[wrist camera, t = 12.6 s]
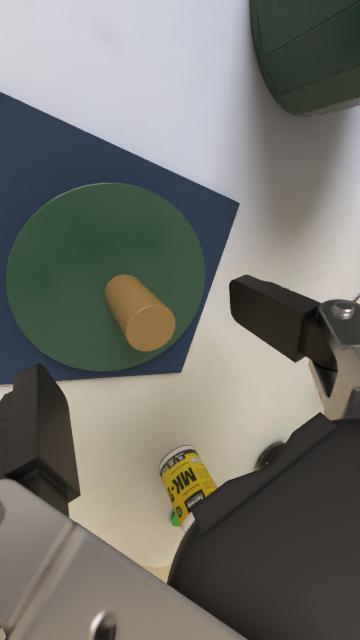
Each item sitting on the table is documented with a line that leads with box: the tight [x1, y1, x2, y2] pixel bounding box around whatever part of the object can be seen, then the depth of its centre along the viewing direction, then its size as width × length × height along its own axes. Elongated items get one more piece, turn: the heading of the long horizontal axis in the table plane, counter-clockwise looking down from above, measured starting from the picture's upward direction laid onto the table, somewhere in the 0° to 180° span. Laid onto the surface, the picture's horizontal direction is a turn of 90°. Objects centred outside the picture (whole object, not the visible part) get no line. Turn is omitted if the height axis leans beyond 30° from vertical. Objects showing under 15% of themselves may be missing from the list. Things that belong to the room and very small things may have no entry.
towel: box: [0, 92, 240, 384], centre depth 15 cm, size 14×14×1 cm
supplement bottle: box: [159, 446, 217, 533], centre depth 24 cm, size 5×5×8 cm
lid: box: [6, 183, 205, 371], centre depth 12 cm, size 11×11×6 cm
